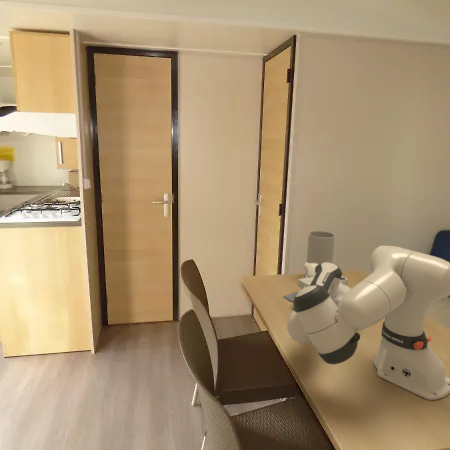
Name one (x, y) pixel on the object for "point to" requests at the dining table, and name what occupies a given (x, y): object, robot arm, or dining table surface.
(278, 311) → the dining table surface
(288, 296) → the slate plate
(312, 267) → the cream peg
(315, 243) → the cylinder vase
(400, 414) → the dining table surface
